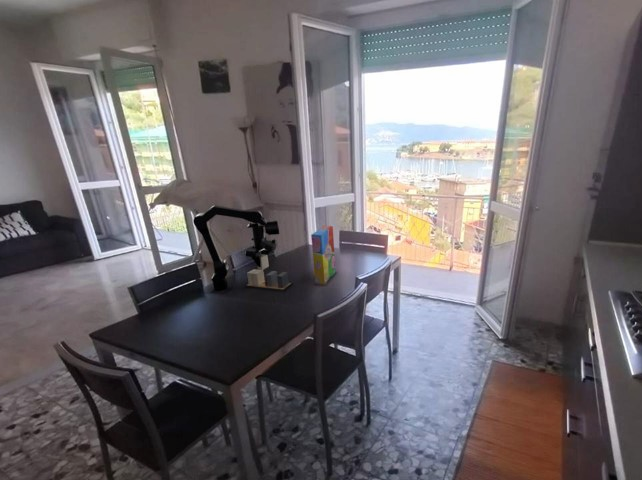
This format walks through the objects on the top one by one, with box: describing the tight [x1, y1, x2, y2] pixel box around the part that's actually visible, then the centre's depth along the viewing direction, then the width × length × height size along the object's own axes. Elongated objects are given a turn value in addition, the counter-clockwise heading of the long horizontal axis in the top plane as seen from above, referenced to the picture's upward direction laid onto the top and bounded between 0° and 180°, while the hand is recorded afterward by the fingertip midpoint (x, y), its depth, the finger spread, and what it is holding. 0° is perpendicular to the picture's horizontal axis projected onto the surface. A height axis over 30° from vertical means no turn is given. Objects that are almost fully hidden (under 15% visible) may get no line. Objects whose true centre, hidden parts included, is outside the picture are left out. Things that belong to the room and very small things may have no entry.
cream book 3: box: [252, 269, 265, 285], centre depth 189 cm, size 6×3×6 cm, turn 163°
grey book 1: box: [265, 270, 278, 287], centre depth 187 cm, size 6×3×6 cm, turn 163°
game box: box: [310, 225, 337, 286], centre depth 192 cm, size 21×6×27 cm, turn 168°
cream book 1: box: [246, 268, 258, 285], centre depth 190 cm, size 6×3×6 cm, turn 163°
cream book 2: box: [256, 254, 270, 271], centre depth 184 cm, size 6×3×6 cm, turn 162°
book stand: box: [246, 275, 292, 290], centre depth 188 cm, size 9×22×6 cm, turn 73°
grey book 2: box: [277, 271, 290, 289], centre depth 185 cm, size 6×3×6 cm, turn 163°
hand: (262, 265), depth 185 cm, fingers closed on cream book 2, 6 cm apart
